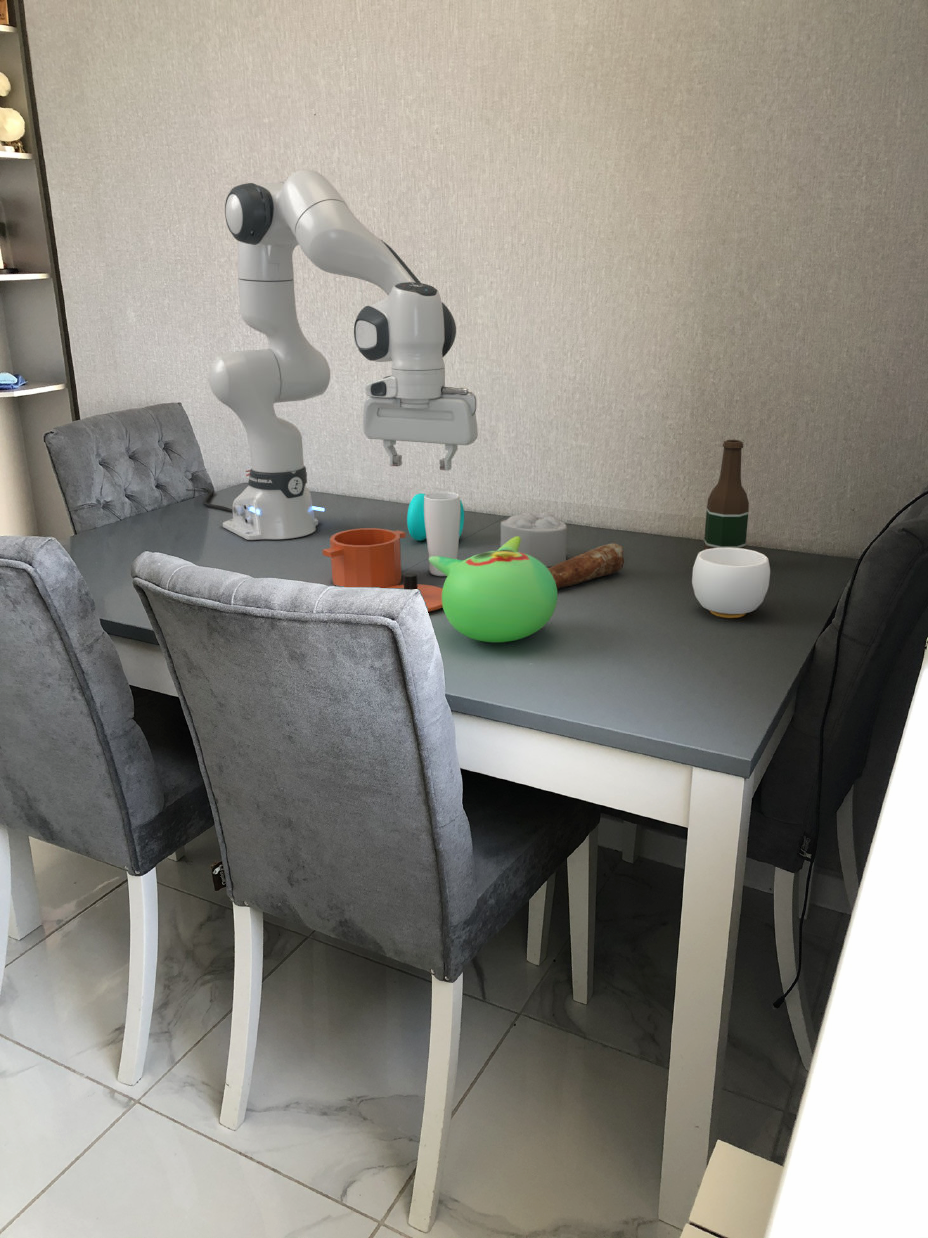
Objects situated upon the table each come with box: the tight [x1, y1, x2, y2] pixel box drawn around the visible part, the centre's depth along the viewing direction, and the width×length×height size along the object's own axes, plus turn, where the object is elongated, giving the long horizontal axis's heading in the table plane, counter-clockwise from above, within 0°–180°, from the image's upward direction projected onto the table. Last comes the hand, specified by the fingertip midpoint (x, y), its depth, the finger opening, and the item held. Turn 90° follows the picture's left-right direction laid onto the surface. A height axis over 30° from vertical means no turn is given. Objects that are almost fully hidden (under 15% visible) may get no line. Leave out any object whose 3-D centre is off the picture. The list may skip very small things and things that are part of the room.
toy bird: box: [428, 536, 558, 643], centre depth 149 cm, size 18×17×15 cm
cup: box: [691, 548, 771, 619], centre depth 160 cm, size 12×12×10 cm
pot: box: [322, 527, 407, 588], centre depth 178 cm, size 13×18×8 cm
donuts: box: [406, 493, 465, 542], centre depth 203 cm, size 10×10×10 cm
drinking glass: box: [424, 491, 461, 577], centre depth 181 cm, size 7×7×15 cm
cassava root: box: [547, 542, 625, 590], centre depth 177 cm, size 6×19×6 cm, turn 128°
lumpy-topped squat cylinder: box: [500, 511, 568, 568], centre depth 190 cm, size 10×13×9 cm
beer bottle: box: [702, 439, 750, 551], centre depth 182 cm, size 8×8×24 cm
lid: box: [387, 572, 443, 612], centre depth 167 cm, size 14×14×5 cm
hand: (420, 467), depth 166 cm, fingers open, 8 cm apart
